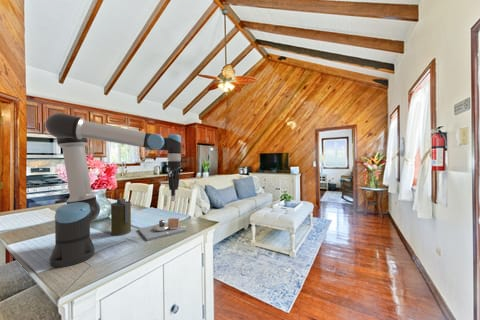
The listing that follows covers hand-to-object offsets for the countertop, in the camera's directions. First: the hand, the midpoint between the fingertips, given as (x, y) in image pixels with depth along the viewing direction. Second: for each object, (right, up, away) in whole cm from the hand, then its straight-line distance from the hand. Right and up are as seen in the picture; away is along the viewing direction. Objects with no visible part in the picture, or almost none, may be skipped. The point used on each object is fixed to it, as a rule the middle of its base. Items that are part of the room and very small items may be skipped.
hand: (173, 200), depth 116 cm
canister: (-32, -19, +1) cm, 37 cm away
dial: (-6, -18, +4) cm, 19 cm away
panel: (-8, -19, +3) cm, 21 cm away
